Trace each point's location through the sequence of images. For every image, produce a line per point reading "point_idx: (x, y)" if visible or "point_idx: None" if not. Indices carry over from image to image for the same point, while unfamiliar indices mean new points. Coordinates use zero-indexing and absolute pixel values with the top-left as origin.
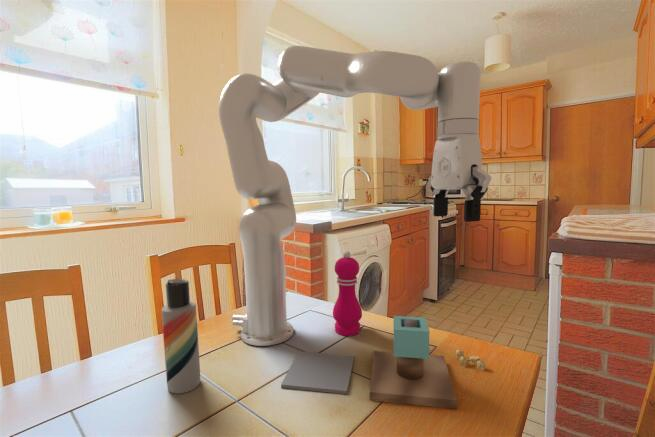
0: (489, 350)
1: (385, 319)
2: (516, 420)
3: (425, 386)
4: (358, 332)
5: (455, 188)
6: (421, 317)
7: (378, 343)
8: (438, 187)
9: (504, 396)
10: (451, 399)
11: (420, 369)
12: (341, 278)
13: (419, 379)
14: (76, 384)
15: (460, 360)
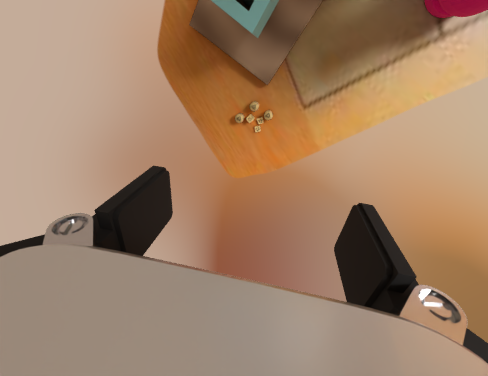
0: (263, 157)
1: (426, 95)
2: (165, 74)
3: None
4: (425, 3)
5: (81, 245)
6: (256, 24)
7: (366, 23)
8: (322, 299)
9: (195, 96)
10: (192, 18)
11: None
12: None
13: None
14: None
15: (255, 102)
